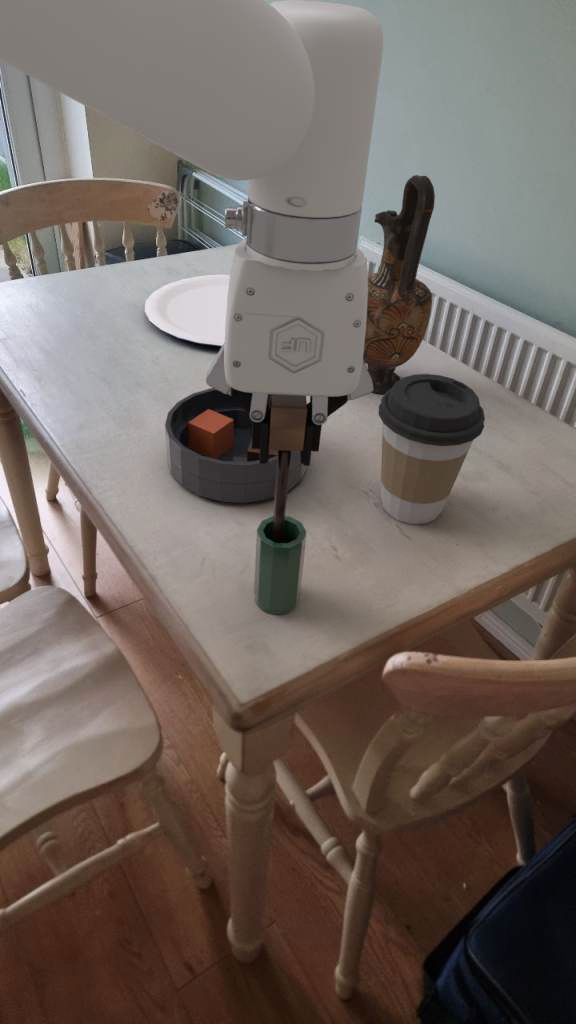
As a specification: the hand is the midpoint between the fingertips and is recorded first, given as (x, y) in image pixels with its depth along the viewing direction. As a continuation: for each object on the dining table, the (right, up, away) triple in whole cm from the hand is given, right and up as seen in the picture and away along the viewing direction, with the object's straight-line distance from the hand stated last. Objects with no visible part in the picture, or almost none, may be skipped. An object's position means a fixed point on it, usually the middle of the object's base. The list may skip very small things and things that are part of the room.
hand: (284, 453), depth 58 cm
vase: (+14, +14, +46) cm, 50 cm away
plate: (-10, +29, +62) cm, 69 cm away
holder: (-1, -14, +11) cm, 18 cm away
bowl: (-6, +1, +29) cm, 29 cm away
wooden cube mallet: (-1, -9, +8) cm, 12 cm away
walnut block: (-2, 0, +27) cm, 27 cm away
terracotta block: (-9, +3, +30) cm, 31 cm away
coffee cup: (+15, -4, +24) cm, 29 cm away
